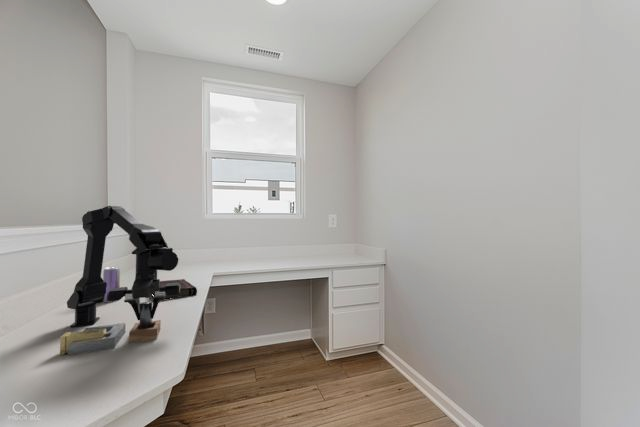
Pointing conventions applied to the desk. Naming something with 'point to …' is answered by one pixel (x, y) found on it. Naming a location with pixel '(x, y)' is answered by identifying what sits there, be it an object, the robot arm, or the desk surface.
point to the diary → (185, 288)
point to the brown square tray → (144, 332)
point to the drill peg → (145, 315)
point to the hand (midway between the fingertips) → (145, 319)
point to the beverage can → (111, 279)
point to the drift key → (79, 338)
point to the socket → (99, 340)
